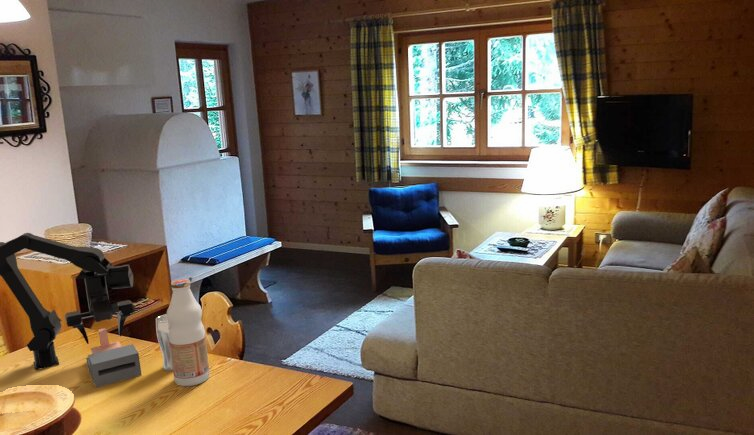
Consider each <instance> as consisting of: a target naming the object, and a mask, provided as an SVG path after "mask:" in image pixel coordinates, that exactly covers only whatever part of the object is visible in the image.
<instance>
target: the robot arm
mask: <svg viewBox="0 0 754 435" xmlns="http://www.w3.org/2000/svg"><path fill="white" fill-rule="evenodd" d="M24 249H25V250H29V251H33V252H36V253H40V254H43V255H46V256H51V257H55V258H57V259H60V260H61V259H62V260H65V261H68V262H69V263H71V264H72V265H73V266H75V267H77V268H79V269H81V270H80V272H79V273H78V275H76V277H75V278H76V279H77V280H80V279H84V286H85V292H86V298H87V304H88V310H89V311H87V312H82V313H80V310H74V311H70V312H66V313H65V314H64V320H65V323H66V326H67V327H68V328H69V327H71V328H73V329H77V330H78V331H79V333H81V335H82V338H83V339H84V340H85V343H86V344H87V345H89V338H88V334H87V331H86V329H85V328H86V327H85V325H84V323H83V320H84V321H85V320H86V319H87V320H88V319H94V321H95V322H97V323H99V322H102V321H106V320H108V321H109V320H111V319H113V315H114V314H117V328H118V335H119V337H121V336H122V334H123V329H124V325H125V322H126V319H127V318H129V317H130V316H131V314H133V313H135V312H136V311H135V310H136V309H135V305H134V303H133V302H132V301H131V300H130V299H128V300H127V299H126V300H122V301H118V299H117V300H116V299H115V300H112V301H110V299H109V291H108V288H111V289H112V290H115V289H116V290H118V289H125V288H127V289H128V288H133V287H134V274H133V273H134V272H132V268H131V267H130V266H131V265H130V264H123V265H116V266H114V265H113V264H112V262H110V261H109V260H108V259H107V258H106V257H105V254H104V253H103V250H102V249H100V248H98V247H92V246H76V245H75V246H74V245H70V244H66V243H63V242H60V241H56V240H53V239H49V238H45V237H42V236H38V235H34V234H33V233H31V232H25V233H23V234H21V235H19V236H18V237H15V238H13V239H11V240H9V241H6V242H4V241H0V277H1V278H2V279H3V281H4V282H5V284H6V286H7V287H8V288H9V289H10V291H11V293H12V294H13V295H14V297H15V299H16V300H17V302H18V303H19V305H20V306H21V308H22V309H23V311H24V312H25V314H26V316H28V320H29V325H30V329H31V332H32V335H33V337H32V338H31V340H29V342H28V343H27V345H26V347H27V349H28V350H29V351H30V352H32V353H33V358H34V359H33V360H34V361H33V367H34V371H37V370H42V369H45V368H50V367H55V366H58V365H60V360H59V358H58V356H57V354H56V349H55V342H54V340H55V339H56V338H57V335H58V334H59V333H61V330H62V323H61V322H62V319H61V318H60V317H59V316H58V314H57V311H56V310H55V309H52V311H49V310H47V309H46V308H45V307H44V306H43V305H42V303H41V301H40V299H39V298H38V297H37V295H36V294H35V292H34V291H33V289H32V287H31V286H30V284H29V282H28V281H27V280H26V279H25V278H26V277H24V275H23V274H22V272H21V271H20V269H19V266H18V262H17V261H18V260H17V257H16V254H17V253H19V252H20V251H23V250H24Z"/></svg>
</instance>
